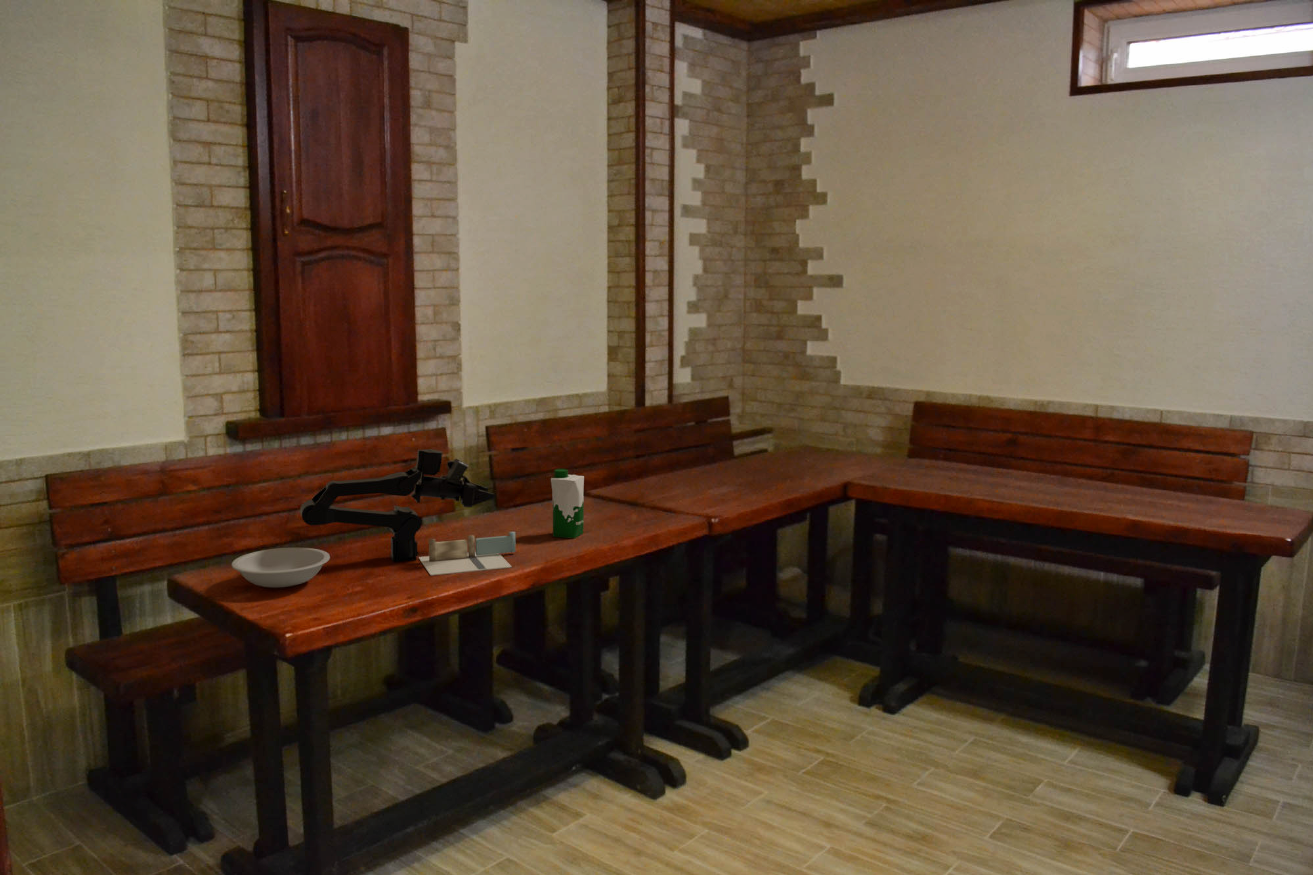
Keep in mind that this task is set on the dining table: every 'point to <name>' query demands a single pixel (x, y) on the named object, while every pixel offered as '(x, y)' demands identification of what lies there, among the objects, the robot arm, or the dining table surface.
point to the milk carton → (567, 504)
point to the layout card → (464, 564)
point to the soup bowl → (281, 566)
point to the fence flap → (496, 544)
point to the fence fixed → (451, 549)
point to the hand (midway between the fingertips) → (491, 492)
